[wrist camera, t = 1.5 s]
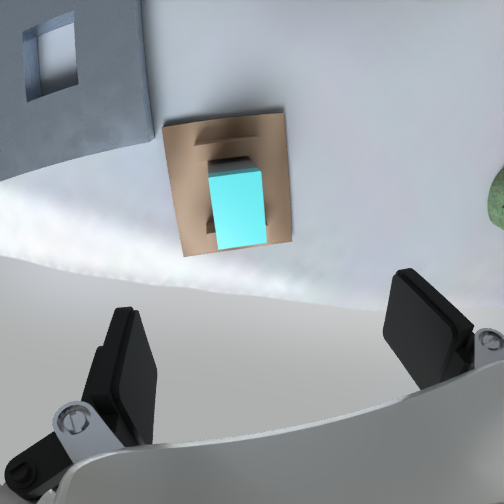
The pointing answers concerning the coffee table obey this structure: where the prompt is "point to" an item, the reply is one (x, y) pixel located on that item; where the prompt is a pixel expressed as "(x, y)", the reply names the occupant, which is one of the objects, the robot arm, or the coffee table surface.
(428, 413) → the robot arm
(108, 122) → the port
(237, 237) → the plug
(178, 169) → the brown holder base
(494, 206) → the decorative artifact
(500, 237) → the coffee table surface
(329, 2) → the coffee table surface
